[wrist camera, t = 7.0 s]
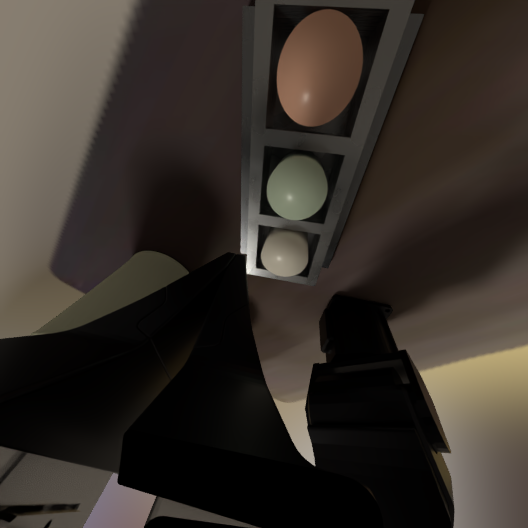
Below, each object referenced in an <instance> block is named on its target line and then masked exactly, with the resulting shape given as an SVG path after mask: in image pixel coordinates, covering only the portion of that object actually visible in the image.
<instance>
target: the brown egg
mask: <svg viewBox="0 0 528 528" xmlns="http://www.w3.org/2000/svg"><path fill="white" fill-rule="evenodd" d="M362 64H363V48H362V42H361V38H360V35H359V32H358V30H357V28H356V26H355V25H354V23H353V22H352V20H351V19H350V18H349V17H348V16H346V15H345V14H343V13H342V12H339V11H337V10H332V9H325V10H320V11H316V12H314V13H312V14H310V15H309V16H307V17H306V18H304V19H303V20H302V21H301V22H300V23H299V24H298V25H297V26H296V27H295V28H294V29H293V31H292V32H291V34H290V35H289V37H288V39H287V41H286V42H285V45H284V47H283V49H282V52H281V55H280V59H279V63H278V69H277V89H278V95H279V99H280V102H281V104H282V106H283V108H284V110H285V112H286V113H287V115H288V116H289V117H290V118H291V119H292V120H294V121H295V122H297V123H298V124H301V125H303V126H311V127H313V126H319V125H323V124H325V123H327V122H329V121H331V120H332V119H334V118H335V117H336V116H338V115H339V114H340V113H341V112H342V111H343V110H344V108H345V107H346V106H347V105H348V103H349V102H350V100H351V98H352V97H353V95H354V93H355V90H356V88H357V86H358V83H359V80H360V76H361V72H362Z"/></svg>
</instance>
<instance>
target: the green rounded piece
mask: <svg viewBox="0 0 528 528" xmlns="http://www.w3.org/2000/svg"><path fill="white" fill-rule="evenodd" d="M327 189H328V186H327V179H326V176H325V173H324V170H323V167H322V164H321V162H320V161H319V159H318V158H317V157H316V156H315V155H313V154H312V153H310V152H307V151H295V152H292V153H290V154H288V155H286V156H285V157H284V158H283V159H282V160H281V161H280V163H279V164H278V165H277V167H276V168H275V170H274V171H273V172H272V174H271V176H270V178H269V180H268V184H267V197H268V201H269V203H270V205H271V207H272V209H273V210H274V211H275V212H276V213H277V214H278V215H280V216H281V217H283V218H286V219H289V220H302V219H306V218H308V217H310V216H312V215H313V214H315V213H316V212H317V211H318V210H319V209H320V208H321V206H322V205H323V203H324V201H325V199H326V196H327Z"/></svg>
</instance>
